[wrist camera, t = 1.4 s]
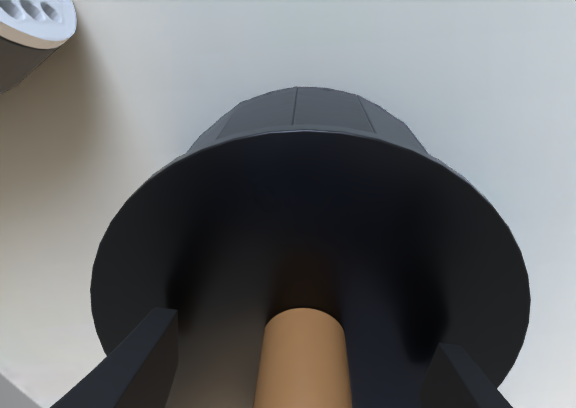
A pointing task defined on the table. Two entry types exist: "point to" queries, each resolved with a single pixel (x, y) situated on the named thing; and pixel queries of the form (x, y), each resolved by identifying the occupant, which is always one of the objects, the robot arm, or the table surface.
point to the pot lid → (312, 270)
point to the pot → (309, 114)
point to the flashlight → (31, 35)
